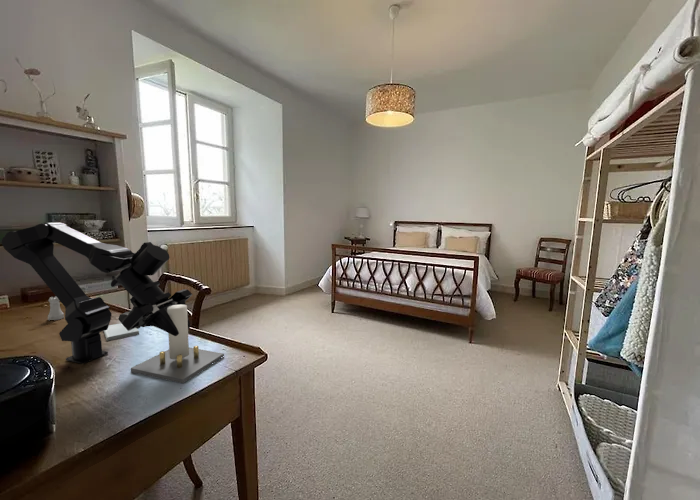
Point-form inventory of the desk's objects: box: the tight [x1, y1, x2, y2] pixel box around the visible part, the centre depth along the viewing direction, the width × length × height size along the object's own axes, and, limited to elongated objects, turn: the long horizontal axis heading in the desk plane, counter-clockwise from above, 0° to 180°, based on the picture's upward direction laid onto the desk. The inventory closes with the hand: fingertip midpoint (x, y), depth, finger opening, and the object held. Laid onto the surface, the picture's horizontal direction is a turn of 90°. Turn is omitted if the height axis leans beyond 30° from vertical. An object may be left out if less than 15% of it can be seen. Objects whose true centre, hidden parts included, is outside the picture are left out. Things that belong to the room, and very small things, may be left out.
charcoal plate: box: [130, 345, 225, 384], centre depth 79 cm, size 16×14×4 cm
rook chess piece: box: [47, 295, 65, 321], centre depth 109 cm, size 4×4×8 cm
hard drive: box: [103, 322, 140, 342], centre depth 100 cm, size 2×8×12 cm
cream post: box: [167, 304, 190, 359], centre depth 78 cm, size 4×4×13 cm
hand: (183, 331), depth 78 cm, fingers closed on cream post, 4 cm apart
